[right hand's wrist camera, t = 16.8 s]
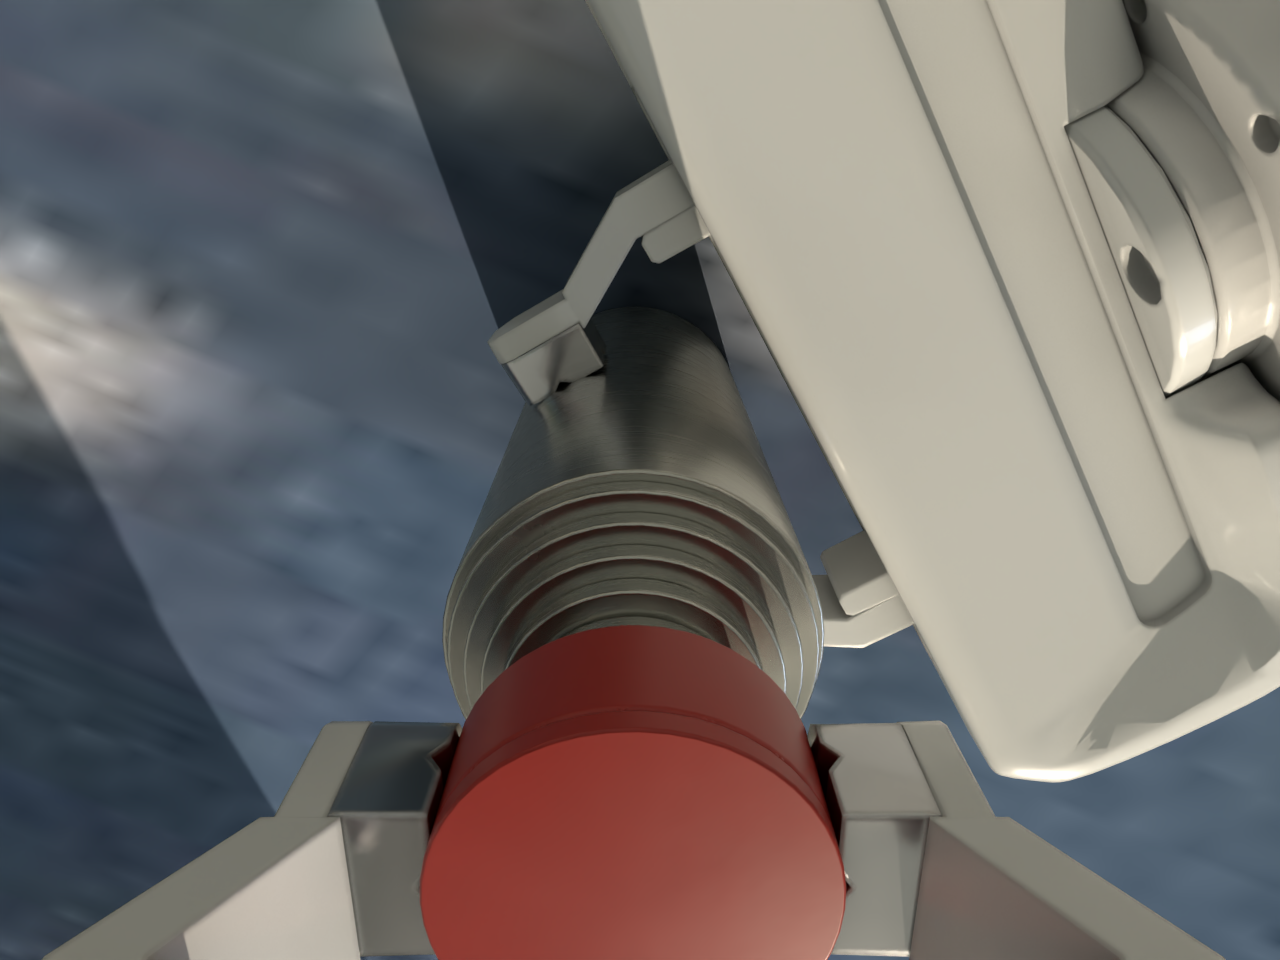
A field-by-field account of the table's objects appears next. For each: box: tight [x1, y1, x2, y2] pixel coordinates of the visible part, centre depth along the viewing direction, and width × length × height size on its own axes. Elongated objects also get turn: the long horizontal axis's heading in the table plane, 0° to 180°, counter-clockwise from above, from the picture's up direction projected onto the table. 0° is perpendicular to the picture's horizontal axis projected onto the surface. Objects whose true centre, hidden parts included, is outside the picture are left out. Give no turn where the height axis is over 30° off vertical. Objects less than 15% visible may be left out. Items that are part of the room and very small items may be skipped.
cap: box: [420, 625, 846, 960], centre depth 9 cm, size 4×4×2 cm
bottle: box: [442, 307, 824, 719], centre depth 17 cm, size 6×6×16 cm
